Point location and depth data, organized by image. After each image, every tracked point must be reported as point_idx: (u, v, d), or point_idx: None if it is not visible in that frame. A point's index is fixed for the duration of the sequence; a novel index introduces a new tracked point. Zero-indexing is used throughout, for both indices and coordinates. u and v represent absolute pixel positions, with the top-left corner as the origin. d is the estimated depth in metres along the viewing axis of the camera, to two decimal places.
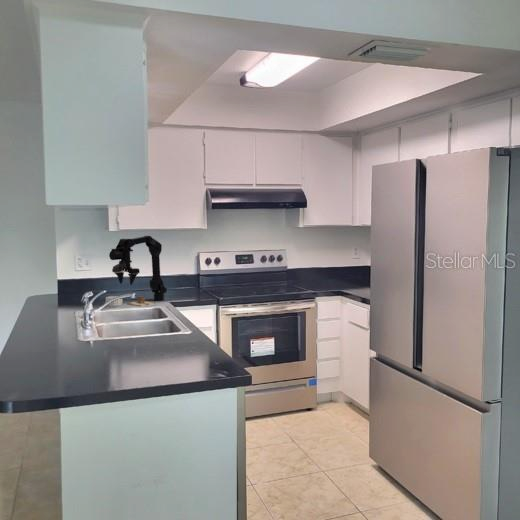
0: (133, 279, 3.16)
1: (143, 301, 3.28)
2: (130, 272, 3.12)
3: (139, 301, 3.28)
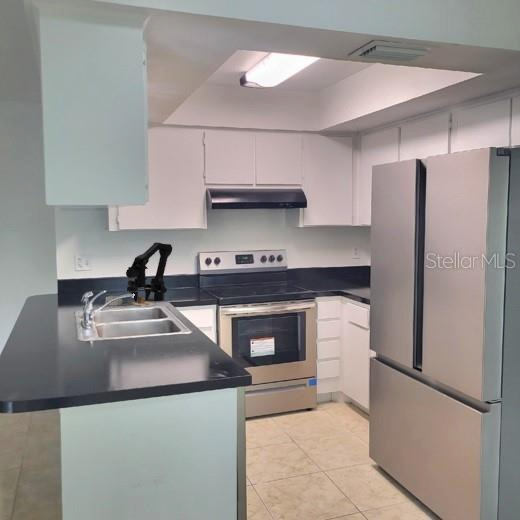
0: (135, 297, 3.23)
1: (143, 301, 3.28)
2: None
3: (139, 301, 3.28)
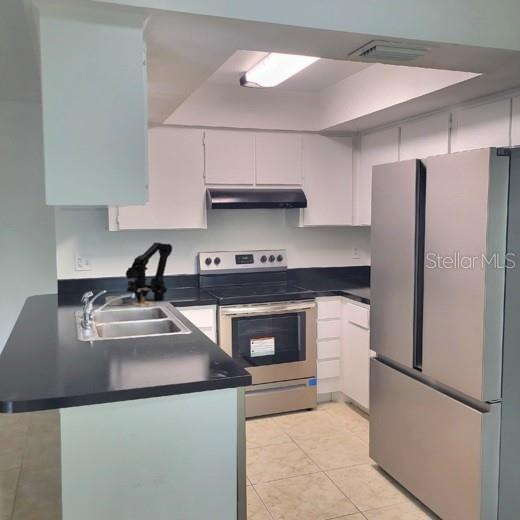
0: (138, 297, 3.26)
1: (143, 301, 3.28)
2: None
3: None
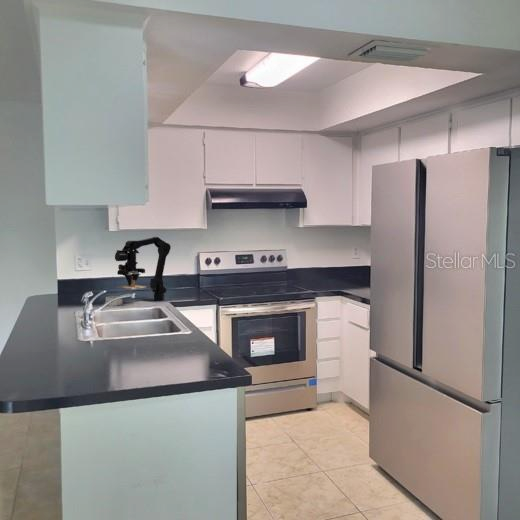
0: (129, 280, 3.24)
1: (134, 285, 3.27)
2: None
3: None
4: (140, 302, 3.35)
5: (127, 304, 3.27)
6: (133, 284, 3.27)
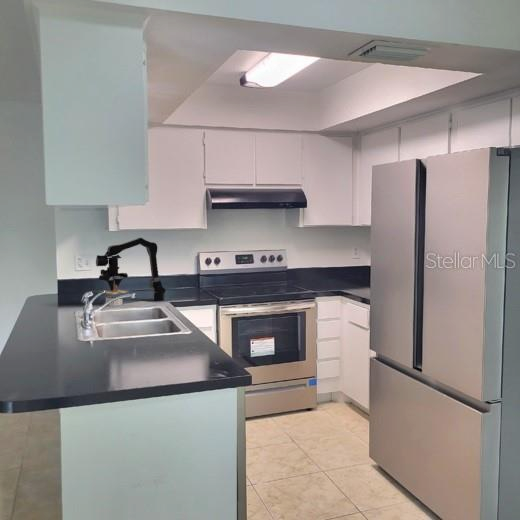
0: (111, 285, 3.25)
1: (116, 289, 3.27)
2: None
3: None
4: (140, 302, 3.35)
5: (127, 304, 3.27)
6: (115, 289, 3.27)
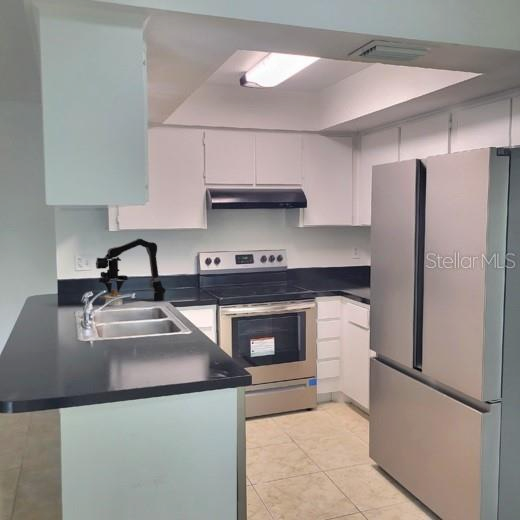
0: (109, 288, 3.24)
1: (116, 294, 3.28)
2: None
3: (112, 294, 3.27)
4: (140, 302, 3.35)
5: (127, 304, 3.27)
6: (115, 294, 3.27)
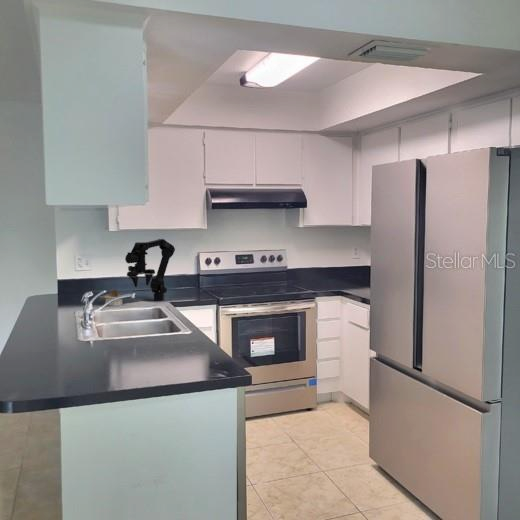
0: (135, 282, 3.25)
1: (116, 294, 3.28)
2: None
3: (112, 294, 3.27)
4: (140, 302, 3.35)
5: (127, 304, 3.27)
6: (115, 294, 3.27)
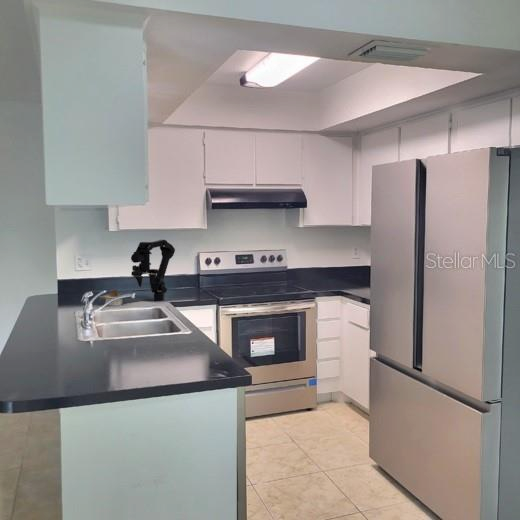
0: (139, 281, 3.25)
1: (116, 294, 3.28)
2: None
3: (112, 294, 3.27)
4: (140, 302, 3.35)
5: (127, 304, 3.27)
6: (115, 294, 3.27)
